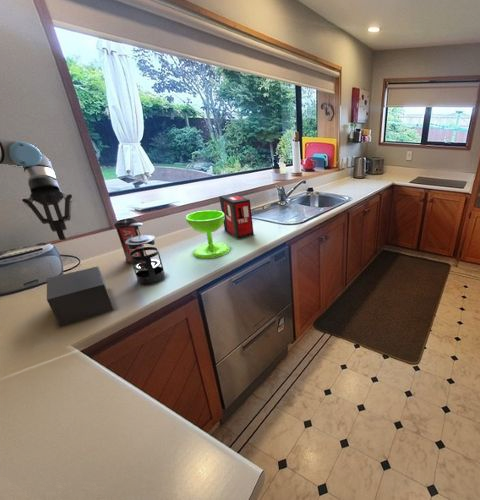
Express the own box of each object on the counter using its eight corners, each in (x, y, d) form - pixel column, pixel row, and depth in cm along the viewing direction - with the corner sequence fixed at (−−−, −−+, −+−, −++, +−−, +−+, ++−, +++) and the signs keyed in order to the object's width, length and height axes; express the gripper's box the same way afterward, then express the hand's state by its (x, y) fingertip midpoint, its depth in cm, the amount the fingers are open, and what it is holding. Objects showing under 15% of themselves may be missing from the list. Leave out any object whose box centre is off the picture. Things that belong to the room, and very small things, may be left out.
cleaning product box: (224, 230, 160) (219, 196, 151) (239, 227, 166) (235, 193, 157) (238, 239, 150) (233, 202, 141) (253, 235, 156) (249, 199, 147)
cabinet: (58, 303, 94) (46, 278, 90) (107, 289, 103) (98, 266, 98) (60, 326, 84) (46, 299, 80) (113, 309, 92) (104, 284, 88)
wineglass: (236, 246, 141) (231, 211, 134) (217, 260, 127) (210, 222, 119) (207, 242, 143) (201, 209, 136) (185, 256, 129) (177, 219, 122)
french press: (169, 280, 110) (154, 225, 100) (140, 288, 104) (122, 230, 94) (161, 269, 117) (146, 217, 108) (134, 276, 111) (116, 221, 102)
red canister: (147, 254, 129) (136, 217, 122) (147, 260, 124) (136, 222, 116) (127, 257, 125) (114, 219, 118) (126, 264, 120) (112, 225, 112)
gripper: (69, 186, 109) (88, 238, 105) (20, 190, 101) (38, 247, 97) (65, 174, 104) (84, 229, 100) (12, 177, 95) (31, 237, 91)
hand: (62, 238), depth 98 cm, fingers closed
